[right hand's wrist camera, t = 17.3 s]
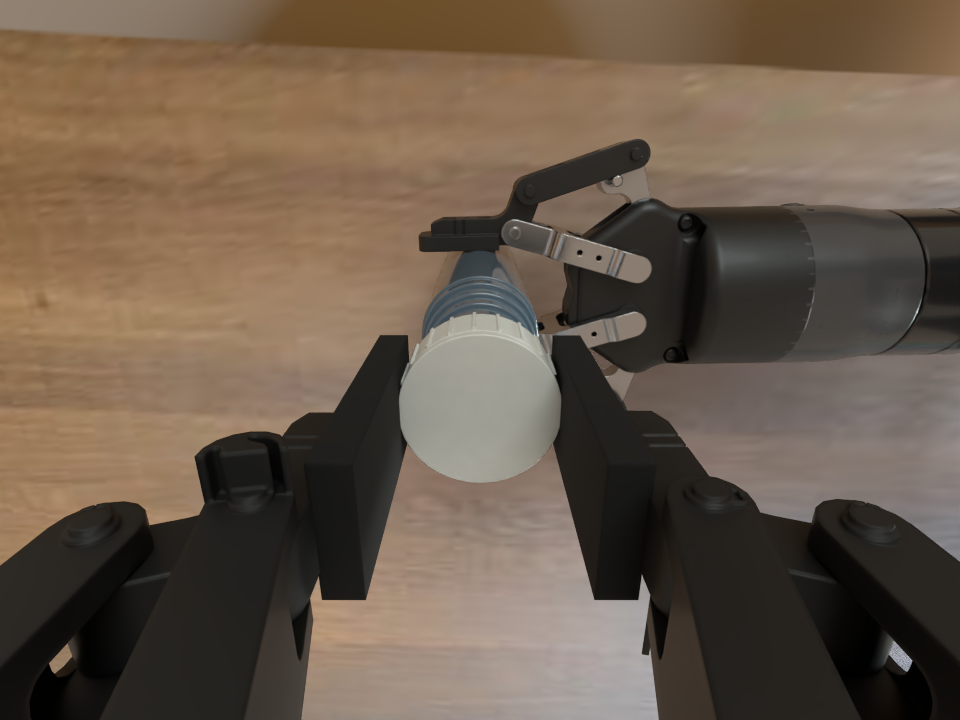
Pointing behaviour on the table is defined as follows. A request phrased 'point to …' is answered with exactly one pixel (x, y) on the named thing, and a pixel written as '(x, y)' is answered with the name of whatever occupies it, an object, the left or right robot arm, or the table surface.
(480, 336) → the cap
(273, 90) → the table surface
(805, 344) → the left robot arm
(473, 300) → the bottle
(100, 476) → the table surface
